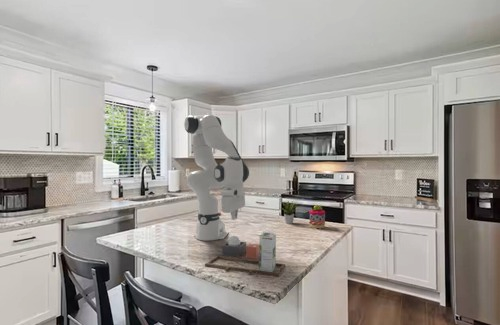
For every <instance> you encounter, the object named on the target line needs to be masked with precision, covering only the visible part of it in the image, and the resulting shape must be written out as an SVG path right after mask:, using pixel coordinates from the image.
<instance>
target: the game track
mask: <svg viewBox="0 0 500 325" xmlns="http://www.w3.org/2000/svg"><path fill="white" fill-rule="evenodd" d="M218 259H219V260H227V261H232V262H241V263H248V264H257V265H259V260H254V259H247V258H243V257H242V256H240V257H234V256H226V255H215V256H214V257H213V258H211V259H209V260H208V261H206V262H205V263H204V266H205V267H211V268H216V269H223V270H225V272H229V271H237V272H244V273H248V275H249V276H252V274H255V275H256V274H257V275H265V276H271V277H276V278H278V277H279V276H280V275H281V273H283V271H284V268H286V263H278V262H276V264H275V267H279V268H278V270H277V271H276V272H274V271H273V272H267V271H260V270H259V269H253V268H246V267H245V268H244V267H238V266H233V265H232V266H231V265H224V264H216V263H214V262H216V260H218ZM282 270H283V271H282Z"/></svg>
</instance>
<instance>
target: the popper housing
mask: <svg viewBox="0 0 500 325" xmlns="http://www.w3.org/2000/svg"><path fill="white" fill-rule="evenodd" d="M246 246H247V242H246V241H240V246H238V247H237V246H228V241H227V242H225V243H224V244H221V256H225V257H233V258H239V257H242V256H243V255H244V254H246Z"/></svg>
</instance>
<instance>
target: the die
mask: <svg viewBox="0 0 500 325" xmlns="http://www.w3.org/2000/svg"><path fill="white" fill-rule="evenodd" d="M245 256H246V258H250V259H258V258H259V244H257V243H248V244H246V252H245Z"/></svg>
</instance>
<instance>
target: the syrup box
mask: <svg viewBox="0 0 500 325" xmlns="http://www.w3.org/2000/svg"><path fill="white" fill-rule="evenodd" d="M276 248H277V234H276V233H273V232H262V233H261V234H260V236H259V256H258V258H259V259H258V261H259V264H258V270H260V271H267V272H274V271H275V269H276V266H275V264H276V263H277V261H276V257H277V256H276V254H277V253H276V252H277V249H276Z"/></svg>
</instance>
